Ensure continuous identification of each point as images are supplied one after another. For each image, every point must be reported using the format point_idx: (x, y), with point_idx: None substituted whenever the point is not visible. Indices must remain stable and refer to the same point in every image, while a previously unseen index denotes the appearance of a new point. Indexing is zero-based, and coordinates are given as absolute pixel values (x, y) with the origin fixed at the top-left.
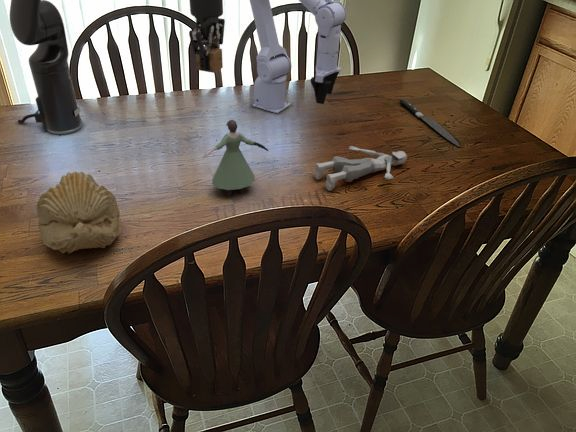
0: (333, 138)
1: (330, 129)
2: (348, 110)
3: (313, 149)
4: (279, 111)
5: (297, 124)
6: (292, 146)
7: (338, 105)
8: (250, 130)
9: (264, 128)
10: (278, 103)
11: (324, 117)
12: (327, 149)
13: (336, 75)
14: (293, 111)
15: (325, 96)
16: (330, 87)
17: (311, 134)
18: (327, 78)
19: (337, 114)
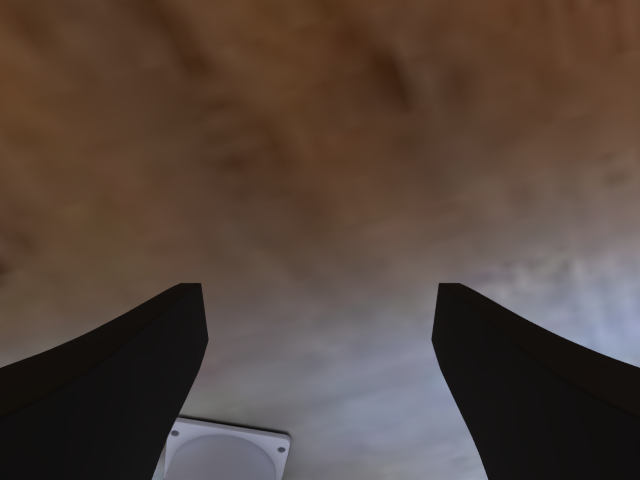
0: (463, 113)
1: (352, 162)
2: (34, 126)
3: (621, 183)
4: (273, 435)
5: (359, 332)
6: (602, 286)
7: (8, 205)
8: (483, 466)
9: (449, 432)
10: (253, 473)
11: (215, 236)
12: (611, 109)
13: (45, 407)
14: (227, 386)
15: (514, 314)
16: (173, 329)
17: (448, 241)
18: (128, 455)
19: (134, 177)
